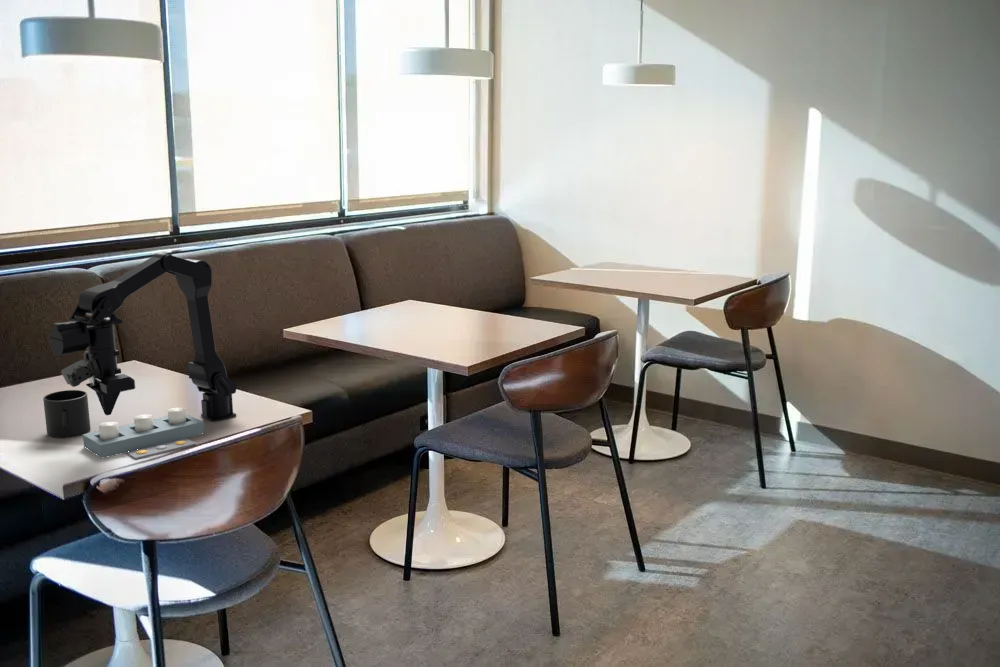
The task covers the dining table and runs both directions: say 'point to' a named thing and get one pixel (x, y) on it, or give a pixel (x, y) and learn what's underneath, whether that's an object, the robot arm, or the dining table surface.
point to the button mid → (143, 423)
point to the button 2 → (176, 415)
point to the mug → (66, 413)
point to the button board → (143, 436)
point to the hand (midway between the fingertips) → (108, 414)
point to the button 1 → (108, 430)
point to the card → (160, 448)
